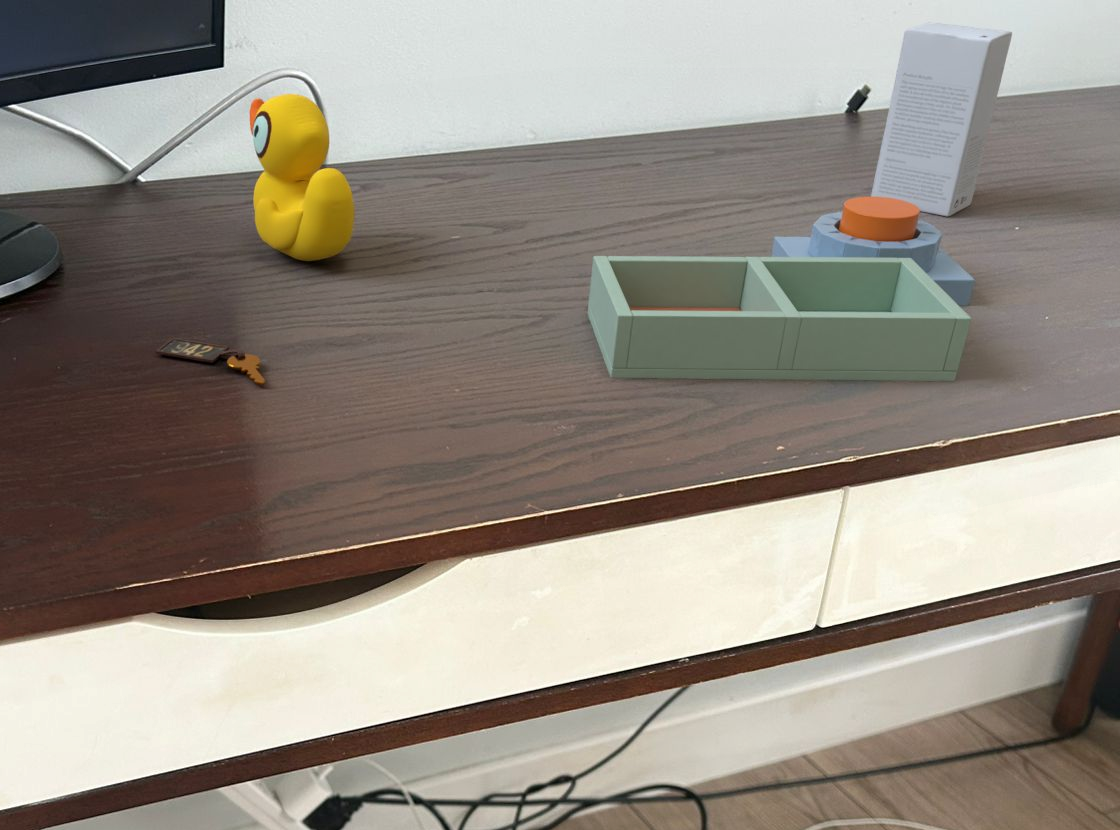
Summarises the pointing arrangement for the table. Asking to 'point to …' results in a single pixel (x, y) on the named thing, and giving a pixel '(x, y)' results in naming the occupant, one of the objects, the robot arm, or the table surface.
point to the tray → (774, 318)
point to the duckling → (298, 181)
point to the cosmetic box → (940, 115)
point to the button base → (882, 252)
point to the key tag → (213, 355)
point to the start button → (879, 219)
